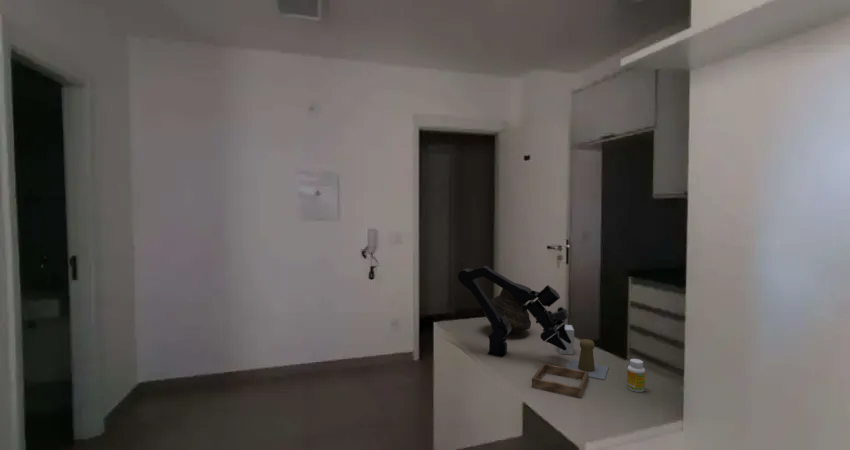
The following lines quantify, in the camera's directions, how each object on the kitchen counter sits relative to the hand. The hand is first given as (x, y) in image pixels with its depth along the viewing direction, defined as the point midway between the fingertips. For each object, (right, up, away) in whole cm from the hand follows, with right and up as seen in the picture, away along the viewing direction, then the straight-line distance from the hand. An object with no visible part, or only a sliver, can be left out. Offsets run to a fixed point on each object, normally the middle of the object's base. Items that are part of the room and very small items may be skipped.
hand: (568, 346), depth 163 cm
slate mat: (+6, -8, -3) cm, 10 cm away
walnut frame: (-8, -9, -16) cm, 20 cm away
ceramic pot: (-16, -6, +42) cm, 45 cm away
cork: (+6, -8, -3) cm, 10 cm away
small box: (+5, -7, +17) cm, 19 cm away
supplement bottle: (+16, -9, -19) cm, 27 cm away
